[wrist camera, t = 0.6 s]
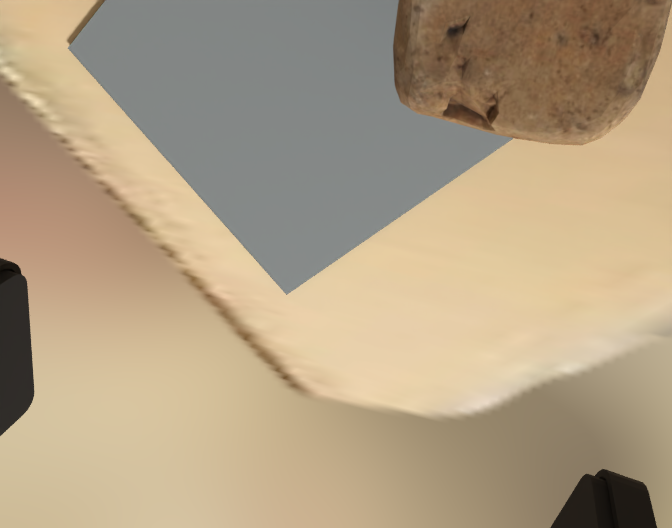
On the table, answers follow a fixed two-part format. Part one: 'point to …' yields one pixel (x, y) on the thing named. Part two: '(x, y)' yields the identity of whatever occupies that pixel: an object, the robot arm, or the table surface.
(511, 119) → the pitted brown stone
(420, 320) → the table surface
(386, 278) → the table surface
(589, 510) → the robot arm
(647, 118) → the table surface
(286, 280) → the mat
